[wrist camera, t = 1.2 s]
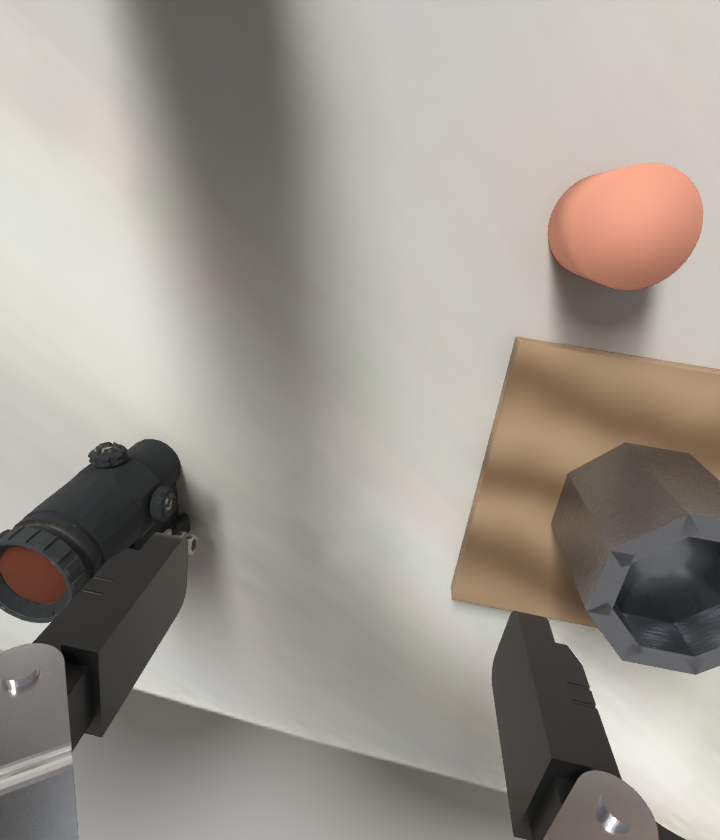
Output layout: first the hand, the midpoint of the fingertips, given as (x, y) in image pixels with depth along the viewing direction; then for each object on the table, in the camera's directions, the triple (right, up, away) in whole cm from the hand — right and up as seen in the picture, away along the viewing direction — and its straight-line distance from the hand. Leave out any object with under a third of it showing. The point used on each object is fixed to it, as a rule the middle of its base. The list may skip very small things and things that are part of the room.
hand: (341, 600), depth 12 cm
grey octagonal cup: (+19, -2, +22) cm, 29 cm away
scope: (-15, 0, +27) cm, 31 cm away
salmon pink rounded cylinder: (+14, +16, +17) cm, 27 cm away
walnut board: (+19, -1, +23) cm, 30 cm away
